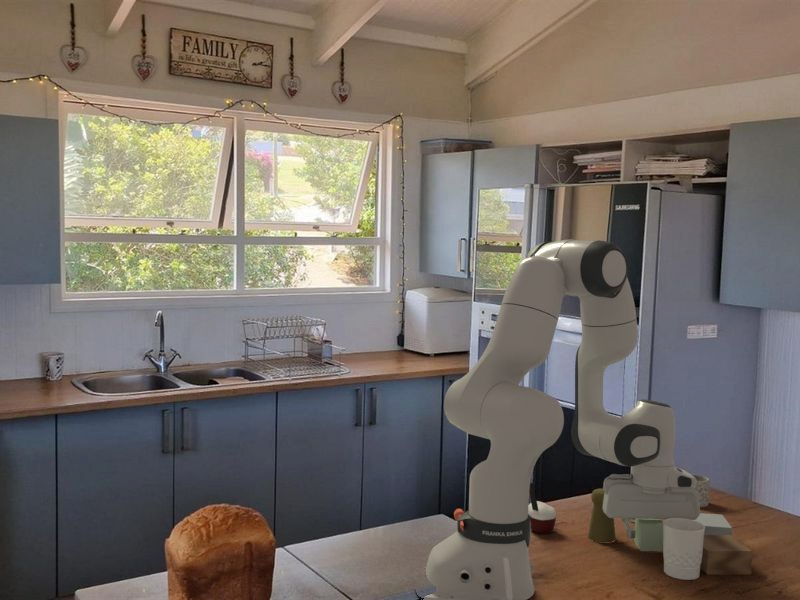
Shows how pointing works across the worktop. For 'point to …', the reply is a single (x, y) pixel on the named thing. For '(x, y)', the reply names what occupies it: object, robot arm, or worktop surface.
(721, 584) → the worktop surface
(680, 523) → the white cup
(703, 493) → the mug
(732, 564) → the walnut block
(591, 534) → the cork
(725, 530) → the grey block
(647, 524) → the sage block
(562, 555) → the worktop surface
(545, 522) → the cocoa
